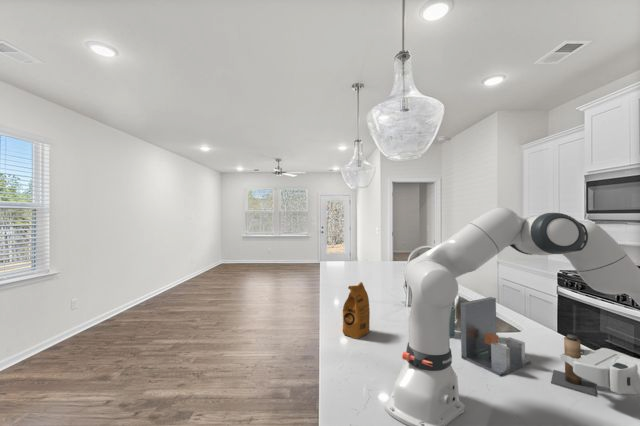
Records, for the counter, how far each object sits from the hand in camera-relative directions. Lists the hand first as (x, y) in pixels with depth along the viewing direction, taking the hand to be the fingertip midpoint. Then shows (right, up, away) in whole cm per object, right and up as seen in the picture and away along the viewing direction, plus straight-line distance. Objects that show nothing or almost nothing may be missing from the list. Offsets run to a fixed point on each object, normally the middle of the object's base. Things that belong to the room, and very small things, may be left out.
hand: (568, 353), depth 90 cm
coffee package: (-62, -10, +39) cm, 74 cm away
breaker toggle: (-16, -8, +15) cm, 23 cm away
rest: (0, -9, -1) cm, 9 cm away
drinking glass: (-23, -10, +38) cm, 46 cm away
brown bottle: (0, -8, -1) cm, 8 cm away
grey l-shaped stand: (-15, -9, +13) cm, 22 cm away
